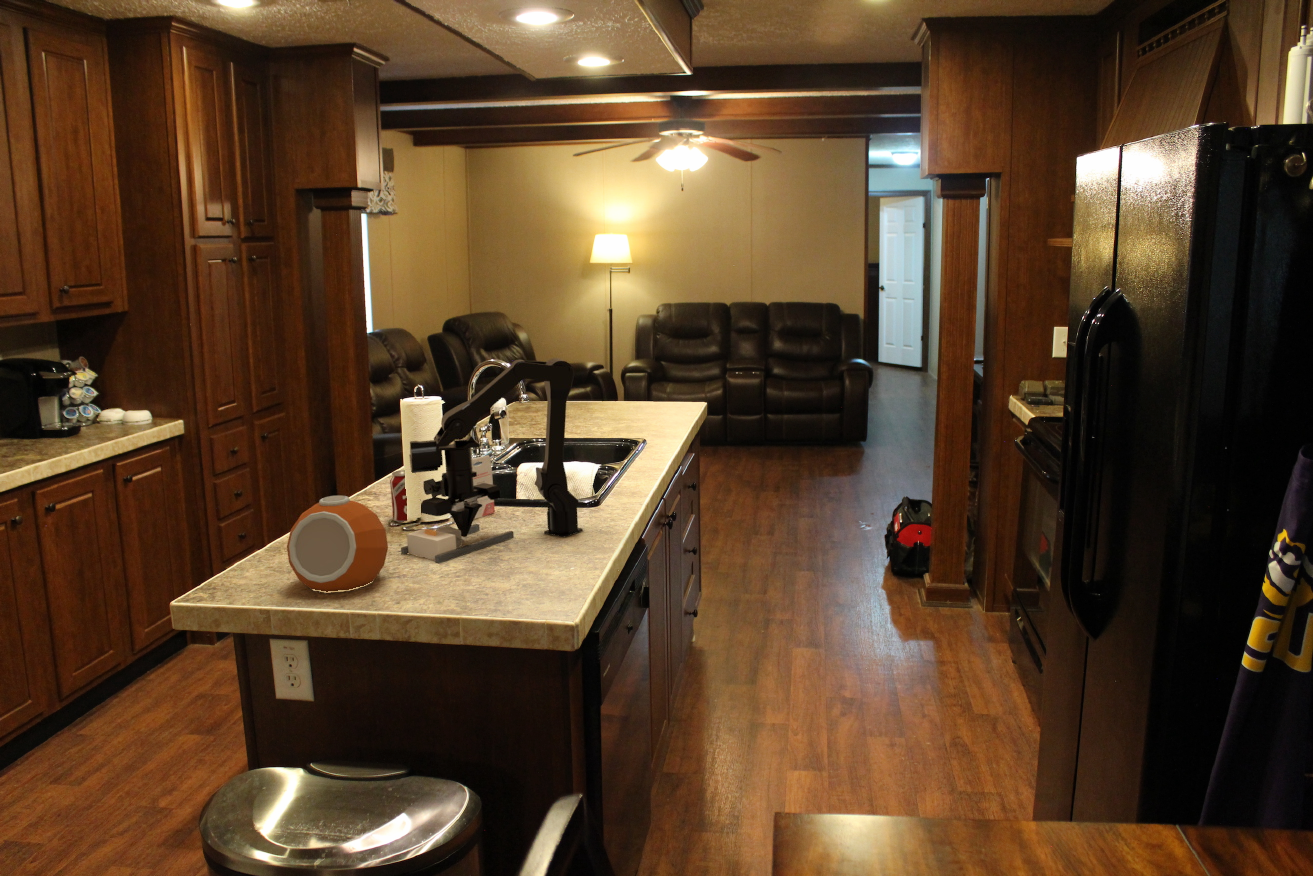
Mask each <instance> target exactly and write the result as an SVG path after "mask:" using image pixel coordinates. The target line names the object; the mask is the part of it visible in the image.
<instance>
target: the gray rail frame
mask: <svg viewBox="0 0 1313 876" xmlns="http://www.w3.org/2000/svg"><path fill="white" fill-rule="evenodd" d="M479 531H480V524H479V523H474V524H472V525H471V527H470V530H469V532H468V535H471V534H473V533H476V532H477V533H478V532H479ZM461 538H463V537H462V536H461ZM511 539H514V531H513V530H508V531H504V532H503V533H499V534H496V535H493V536H490V537H487V538H485V539H482V540H479V541H475V542H472V543H470V544H465V545H464V546H461V547H459V548H456V549H454V550H451V551H448V552H445V553H442V554H439V555H436V556H435V560H434V562H435V563H436V564H441V563H444V562H447V561H450V560H453V559H455V558H458V557H462V556H465V555H468V554H470V553H473V552H477V551H479V550H482V549H485V548H487V547H490V546H494V545H497V544H500V543H502V542H503V543H504V542H505V541H507V540H511ZM407 553H408V545H405V546H402V547H400V554H401V555H402V554H406V555H408V554H407Z"/></svg>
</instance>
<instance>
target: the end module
mask: <svg viewBox="0 0 1313 876" xmlns="http://www.w3.org/2000/svg"><path fill="white" fill-rule="evenodd" d="M406 543H407V546H408V553H409V554H408V555H410V554H413V555H412V556H414V555H417V556H416V557H419V556H420V557H419V558H423V557H425V558H424V559H426V560H431V561H435V556H436V555H439V554H442V553H445V552H448V551H451V550H454V549H457V548H456V538H455V535H453V534H448V533H444V532H439V531H436V529H431V528H421V529H419V530H415V531H412V532H409V533H406Z"/></svg>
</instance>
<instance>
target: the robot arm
mask: <svg viewBox="0 0 1313 876" xmlns="http://www.w3.org/2000/svg"><path fill="white" fill-rule="evenodd" d="M574 377H575V370H574V368H573V366H572V365H571V364H570V362H568V361H566V360H563V359H561V358H558V357H554V358H551V359H549V360H548V359H547V361H543V360H523V359H516V360H513V361H512V362H511V364H510V365H509V366H508V367H507V368H506V369H504V370H503V371H502V372H501V373H500V374H499V375H497V376H496V378H494V379H493V380H492V381H491V382H490V383H488V384H487V385H486V386H484V387H483V388H482V389H481V390H480V391H478V393H476V395H474V396H473V397H472V398H469V400H467V401H464V402H462V403H461V404H459V405H456V406H455V407H453V408H451V409H450V410H448V411H446V412H445V413H444V415H442V417H441V423H440V424H441V426H440V427H439V429H438V430H437V433H436V434H435V435H434V437H433V439H430V440H422V441H421V440H420V441H418V440H412V441H411V440H410V441H409V465H410V470H411V472H412V473H415V474H416V473H427V472H434V471H439V468H441V466H443V464H444V463H445V472H443V473H441V480H437V481H436V480H435V479H434V478H429V479H426V480H423V484H422V486H423V492H424V494H425V495H426V496H429V495H431V497H430V498H427V499H423V500H422V501H421V514H423V515H424V514H425V515H428V516H429V515H430V516H433V517H441V516H445V515H448V514H449V515H450V516H451V518H452V520H453V521H454V523H455V525H456V527H457V528H456V529H458V530H460V531H461V536H462V537H461V538H466V537H468V535H469V534H468V532H469V530H470V527H471V525H473V522H474V520H475V519H474V518H475V516H476V514H477V512H478V510H479V508H480V507H482V504H478V501H477V499H478V498H481V497H485V496H488V498H489V499H490V500H494V501H495V500H497V499H500V498H501V489H500V488H499V486H498V485H497V484H493V485H492V484H486V483H482V484H478V485H475V486H474V484H473V477H476V476H477V472H474V471H473V470H472V459H473V458H472V448H479V447H480V446H481V444H480V442H478V441H477V440H476V439H475V438H474V437H473V435H471V434H470V433H471V431H472V430H473V429H474V428H475V427H476V425H477V424H478V423H479V421H480V419H481V418H482V417H483V416H484V415H485V413H487V411H489V409H490V408H492V407H493V406H494V405H496V404H497V403H498V402H499V401H501V399H503V398H504V396H506V395H507V394H509V392H511V390H513V389H514V388H515V387H517V386H518V385H519V384H520V383H521V382H523V381H524V380H531V381H533V380H534V381H542V382H544V389H545V392H546V398H547V407H546V410H547V411H546V425H545V426H546V427H545V447H544V461H543V464H542V466H541V467H539V466H538V467H535V473H536V476H535V477H536V478H535V482H534V485H535V487H537V491H538V493H539V494H540V495H541V496H542V497H543V499H544V500H545V501H546V502H548V504H550V505H547V512H546V519H547V529H546V530H544V531H543V533H544V534H545V535H551V536H555V537H561V538H566V537H570V536H572V535H575V534H578V533H580V532H583V531H584V529H583V528H581V527H579V522H578V504H579V500H578V499H577V498H576V496H574V495H573V493H571V492H570V491H569V488H568V479H567V474H566V469H565V464H564V457H565V456H564V455H565V437H566V436H565V433H566V417H567V416H566V415H567V402H568V401H567V400H568V398H569V395H570V393H571V390H572V386H573V383H574V382H573V381H574ZM469 434H470V435H469ZM468 435H469V436H468ZM466 437H467V438H466ZM465 438H466V439H465ZM443 452H444V459H443ZM443 461H444V462H443ZM438 496H441V497H438ZM442 497H443V498H442ZM456 500H457V501H456Z"/></svg>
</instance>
